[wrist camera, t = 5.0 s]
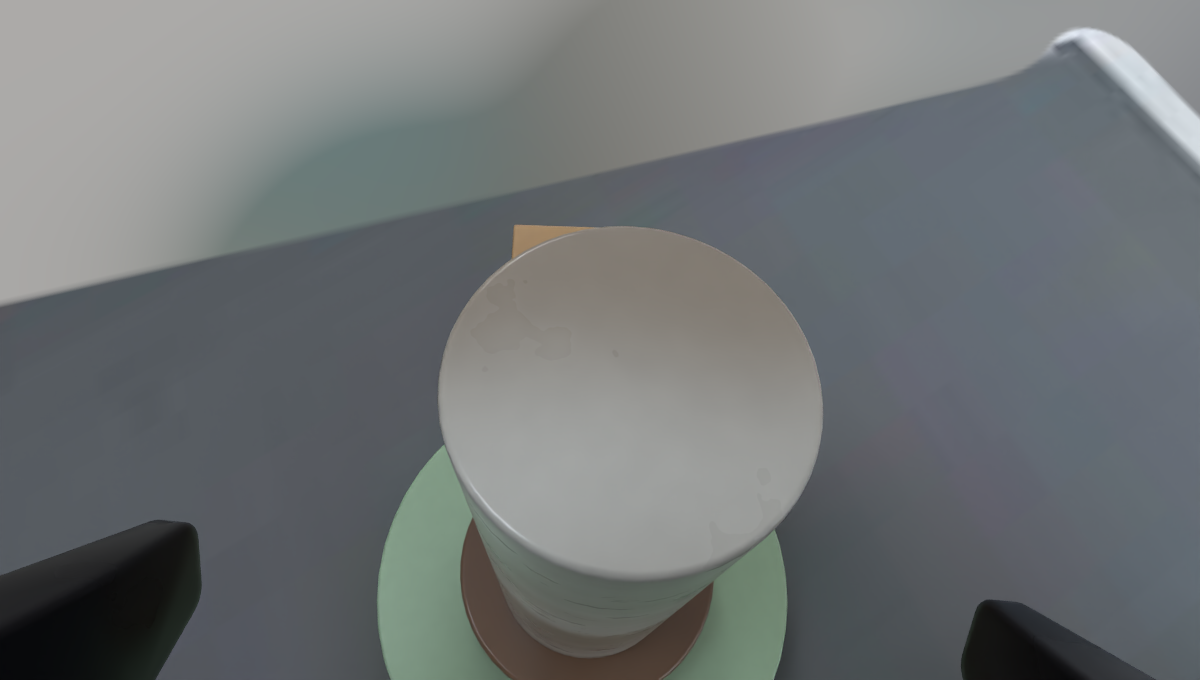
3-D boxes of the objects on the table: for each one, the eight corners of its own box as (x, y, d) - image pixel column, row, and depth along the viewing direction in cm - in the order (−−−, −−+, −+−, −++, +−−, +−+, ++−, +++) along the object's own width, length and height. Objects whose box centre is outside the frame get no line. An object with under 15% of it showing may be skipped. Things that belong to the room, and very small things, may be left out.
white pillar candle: (714, 705, 14) (978, 691, 5) (454, 707, 14) (287, 694, 5) (681, 246, 19) (786, -130, 11) (492, 239, 19) (445, -153, 10)
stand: (793, 807, 15) (817, 816, 13) (362, 812, 14) (343, 822, 13) (748, 413, 19) (763, 390, 18) (415, 406, 19) (404, 382, 17)
